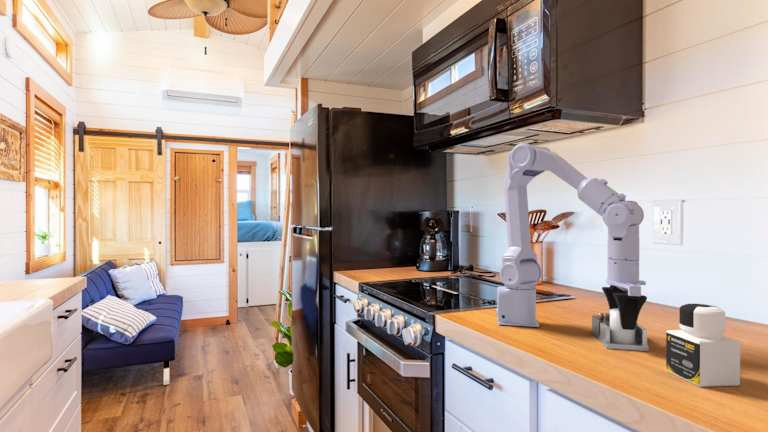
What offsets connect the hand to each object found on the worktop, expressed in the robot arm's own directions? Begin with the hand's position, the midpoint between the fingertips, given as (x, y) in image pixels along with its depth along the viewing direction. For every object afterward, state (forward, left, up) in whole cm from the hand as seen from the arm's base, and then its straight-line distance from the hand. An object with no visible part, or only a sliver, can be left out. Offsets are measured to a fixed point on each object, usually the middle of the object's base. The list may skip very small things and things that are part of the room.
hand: (622, 325), depth 88 cm
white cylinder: (0, 0, -3) cm, 3 cm away
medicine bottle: (+7, -17, -4) cm, 18 cm away
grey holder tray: (0, +3, -4) cm, 5 cm away
